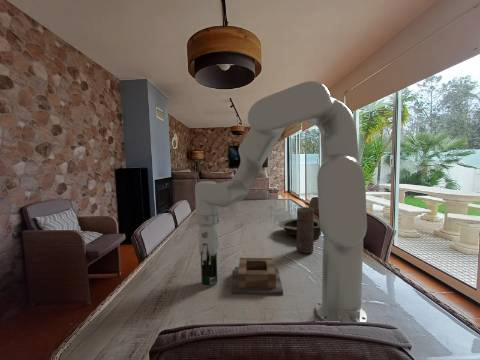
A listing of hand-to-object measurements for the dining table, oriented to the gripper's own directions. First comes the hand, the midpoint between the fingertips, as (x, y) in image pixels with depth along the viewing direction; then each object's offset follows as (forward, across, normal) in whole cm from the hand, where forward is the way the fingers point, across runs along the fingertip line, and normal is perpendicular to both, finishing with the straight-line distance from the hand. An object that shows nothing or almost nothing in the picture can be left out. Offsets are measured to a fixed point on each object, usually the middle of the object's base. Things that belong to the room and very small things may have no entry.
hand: (209, 270), depth 78 cm
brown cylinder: (+5, +27, -38) cm, 47 cm away
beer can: (+5, 0, 0) cm, 5 cm away
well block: (+4, +2, -16) cm, 17 cm away
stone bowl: (+5, +50, -41) cm, 65 cm away
